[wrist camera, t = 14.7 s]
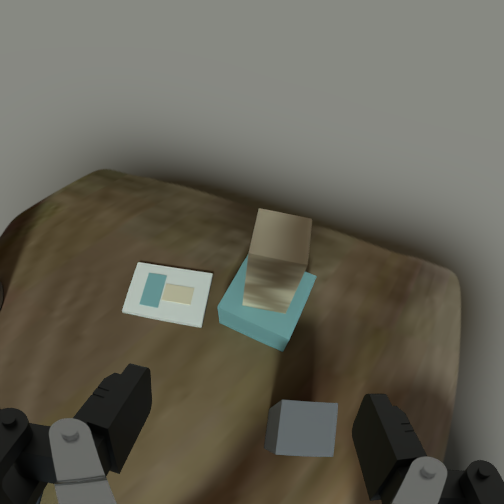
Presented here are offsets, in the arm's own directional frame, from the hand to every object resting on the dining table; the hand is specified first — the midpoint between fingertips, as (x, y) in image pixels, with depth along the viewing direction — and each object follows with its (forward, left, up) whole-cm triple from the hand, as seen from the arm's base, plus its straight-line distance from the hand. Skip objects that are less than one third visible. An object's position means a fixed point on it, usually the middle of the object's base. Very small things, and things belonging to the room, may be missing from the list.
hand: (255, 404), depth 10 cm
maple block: (+1, +14, -18) cm, 23 cm away
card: (-11, +14, -23) cm, 29 cm away
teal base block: (+1, +14, -23) cm, 27 cm away
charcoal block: (+5, 0, -23) cm, 23 cm away
